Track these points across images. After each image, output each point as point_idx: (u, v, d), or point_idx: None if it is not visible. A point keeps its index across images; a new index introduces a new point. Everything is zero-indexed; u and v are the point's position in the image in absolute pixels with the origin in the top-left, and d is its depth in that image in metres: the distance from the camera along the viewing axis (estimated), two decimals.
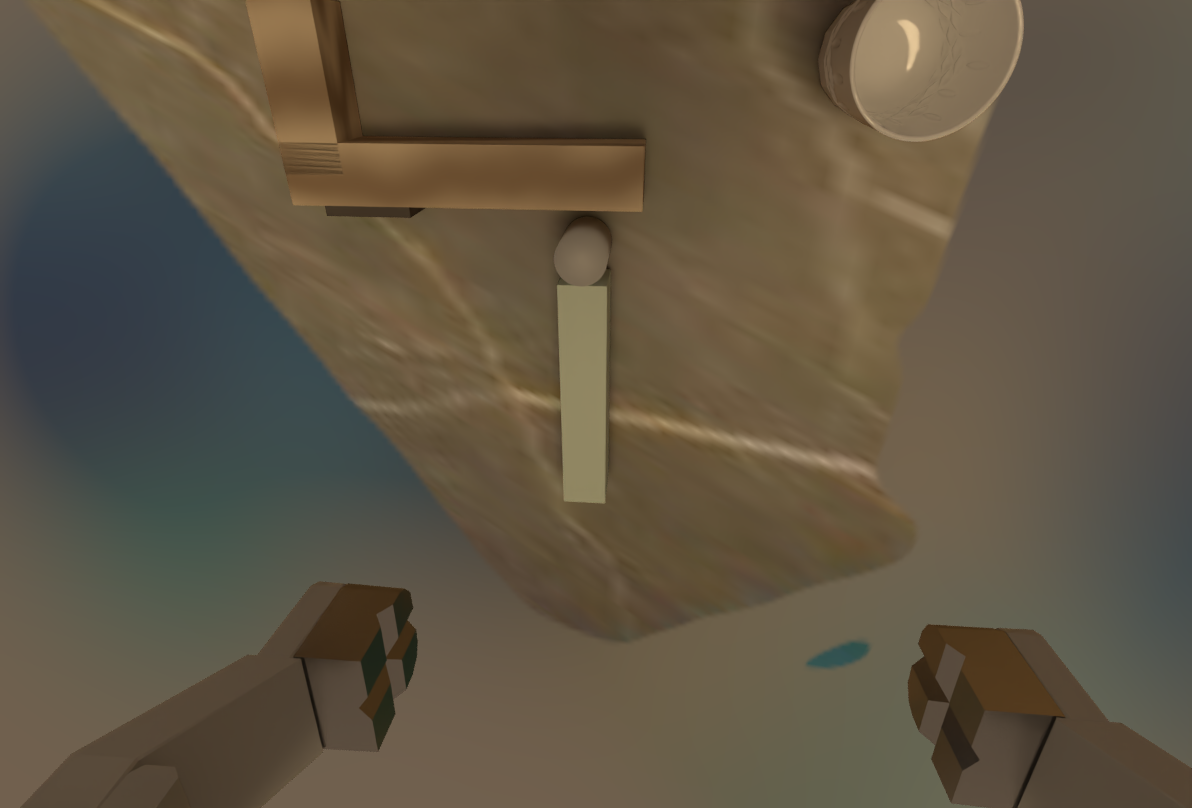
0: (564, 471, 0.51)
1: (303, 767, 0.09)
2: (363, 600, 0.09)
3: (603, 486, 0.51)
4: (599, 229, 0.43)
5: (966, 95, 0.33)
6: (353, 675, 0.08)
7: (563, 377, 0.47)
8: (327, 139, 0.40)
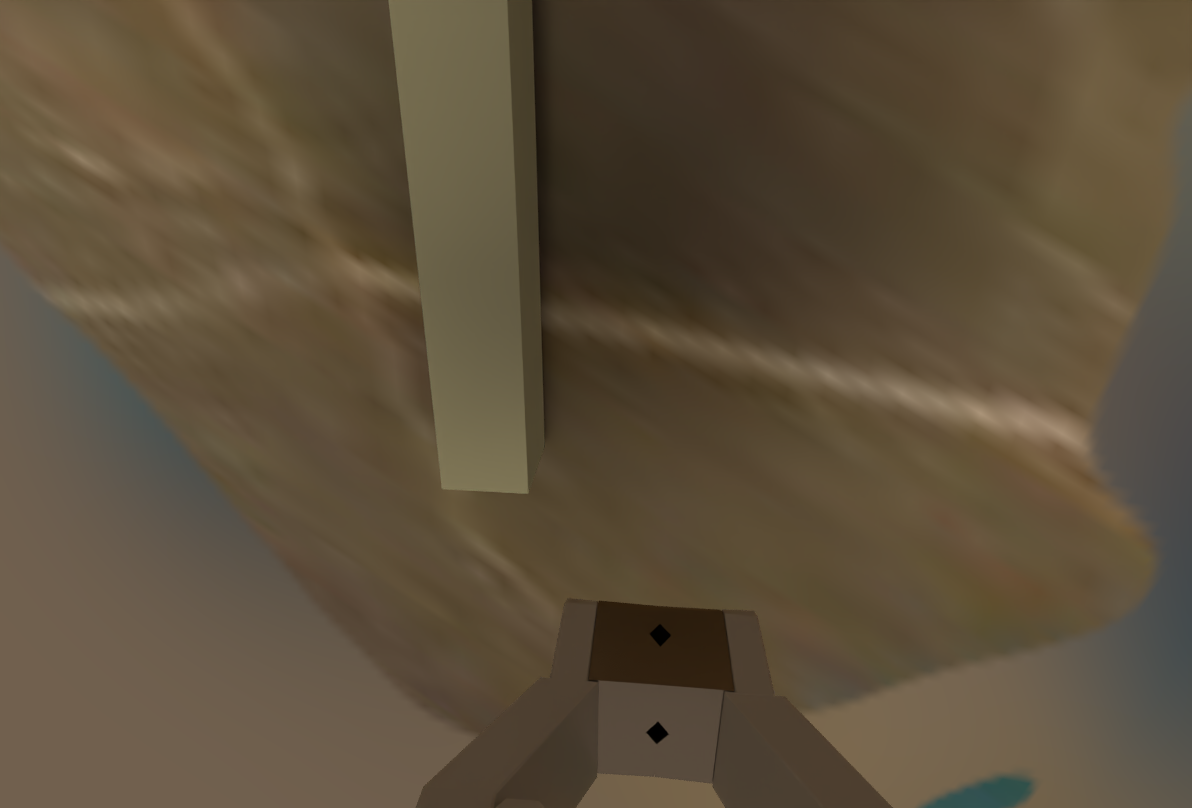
0: (437, 419, 0.23)
1: (583, 793, 0.08)
2: (627, 618, 0.09)
3: (523, 454, 0.24)
4: None
5: None
6: (649, 699, 0.08)
7: (415, 176, 0.20)
8: None
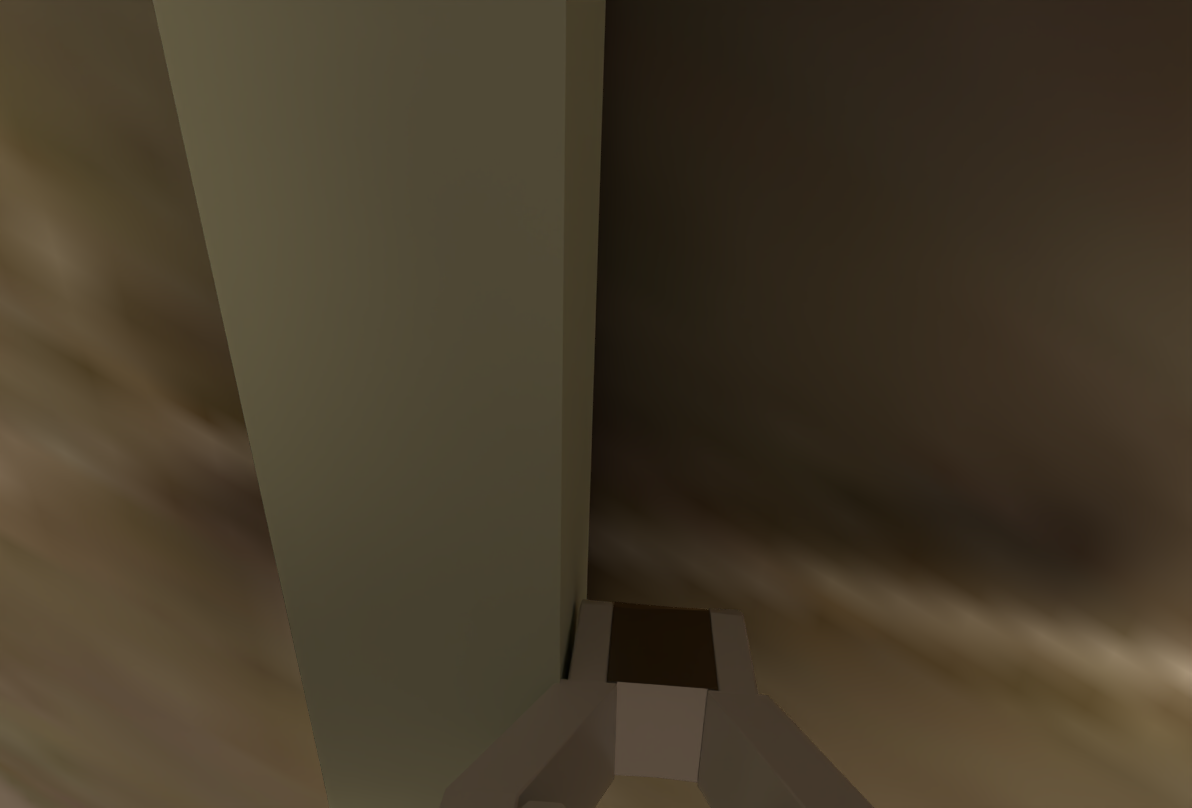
0: None
1: (601, 795, 0.08)
2: (644, 620, 0.09)
3: None
4: None
5: None
6: (667, 700, 0.08)
7: (246, 314, 0.06)
8: None
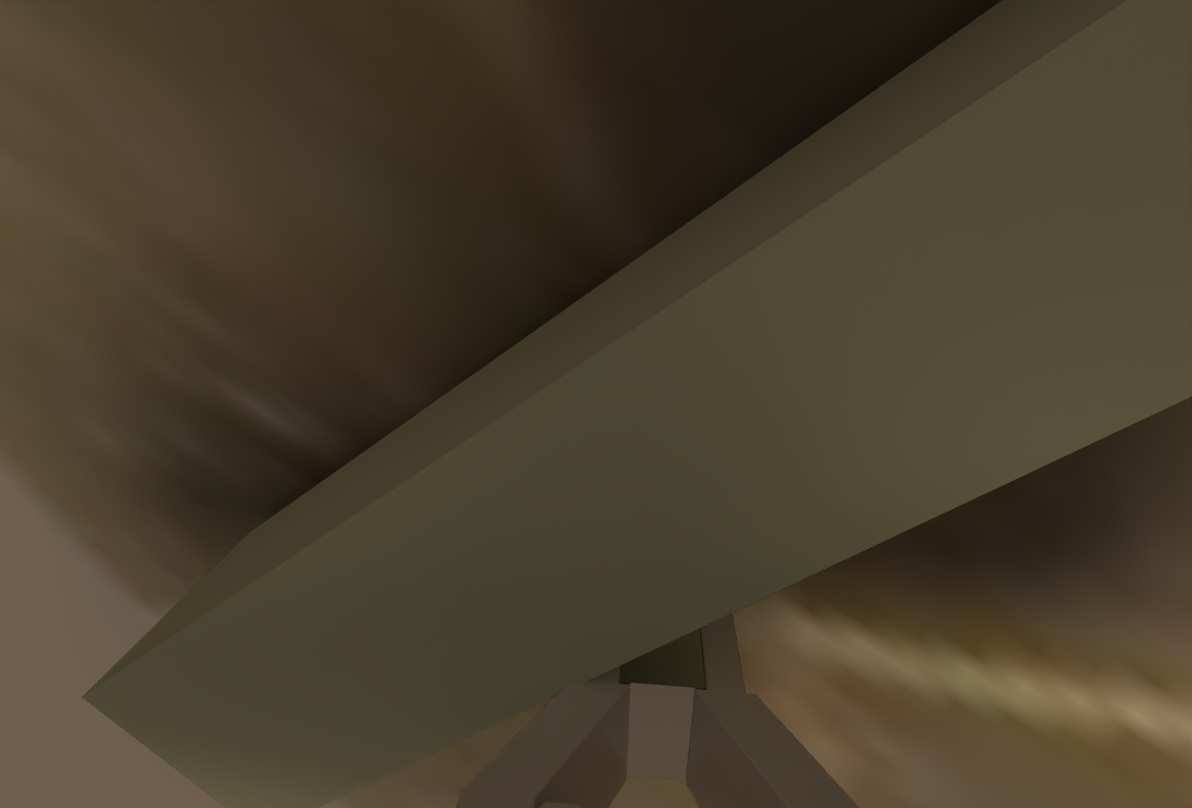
0: (220, 615, 0.08)
1: (612, 795, 0.08)
2: None
3: (328, 794, 0.09)
4: None
5: None
6: (680, 701, 0.08)
7: (847, 222, 0.05)
8: None
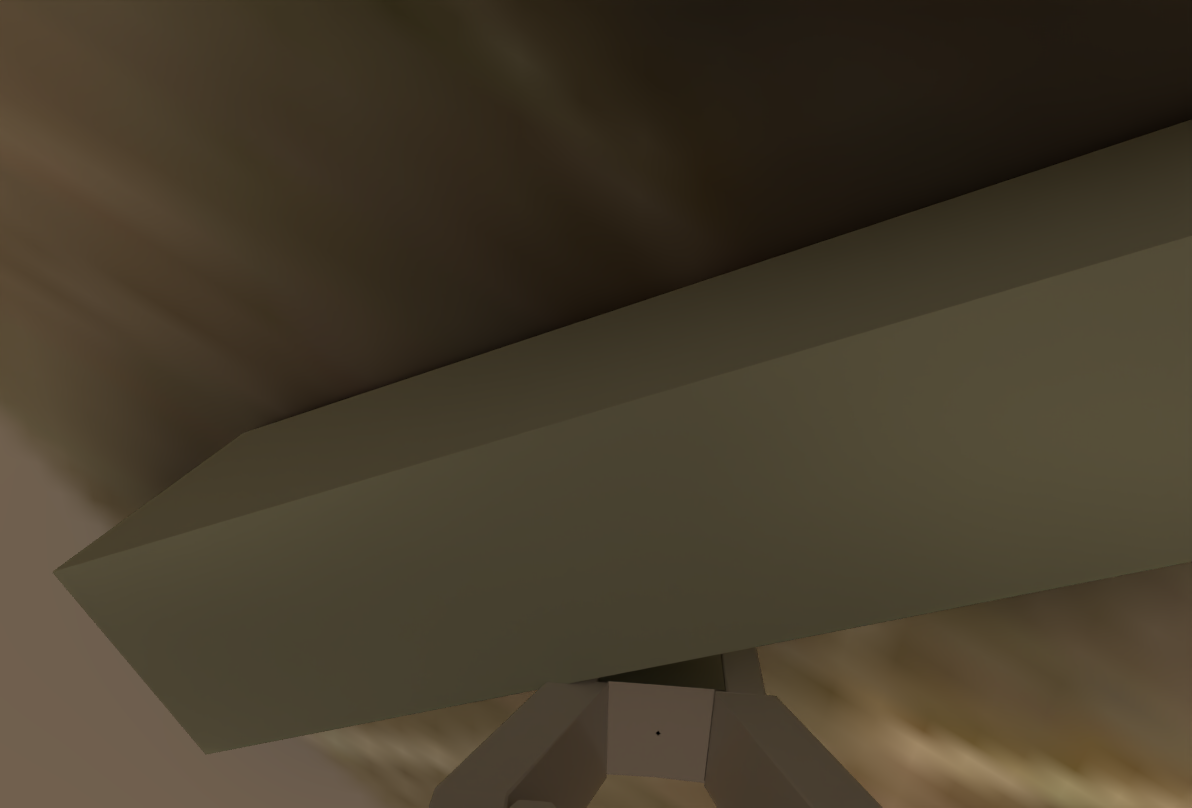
0: (252, 522, 0.07)
1: (592, 794, 0.08)
2: None
3: (299, 728, 0.09)
4: None
5: None
6: (659, 699, 0.08)
7: (1057, 303, 0.05)
8: None
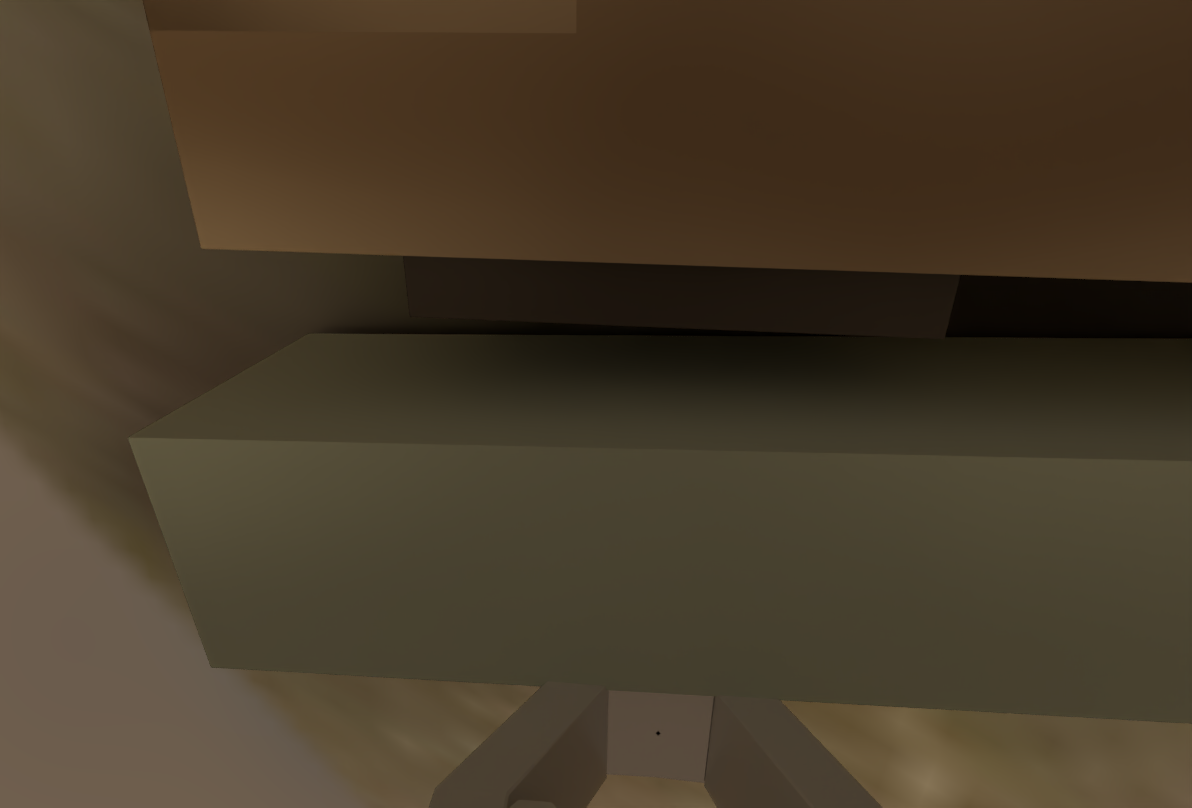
0: (391, 453, 0.07)
1: (593, 793, 0.08)
2: None
3: (332, 666, 0.08)
4: None
5: None
6: (659, 699, 0.08)
7: None
8: None
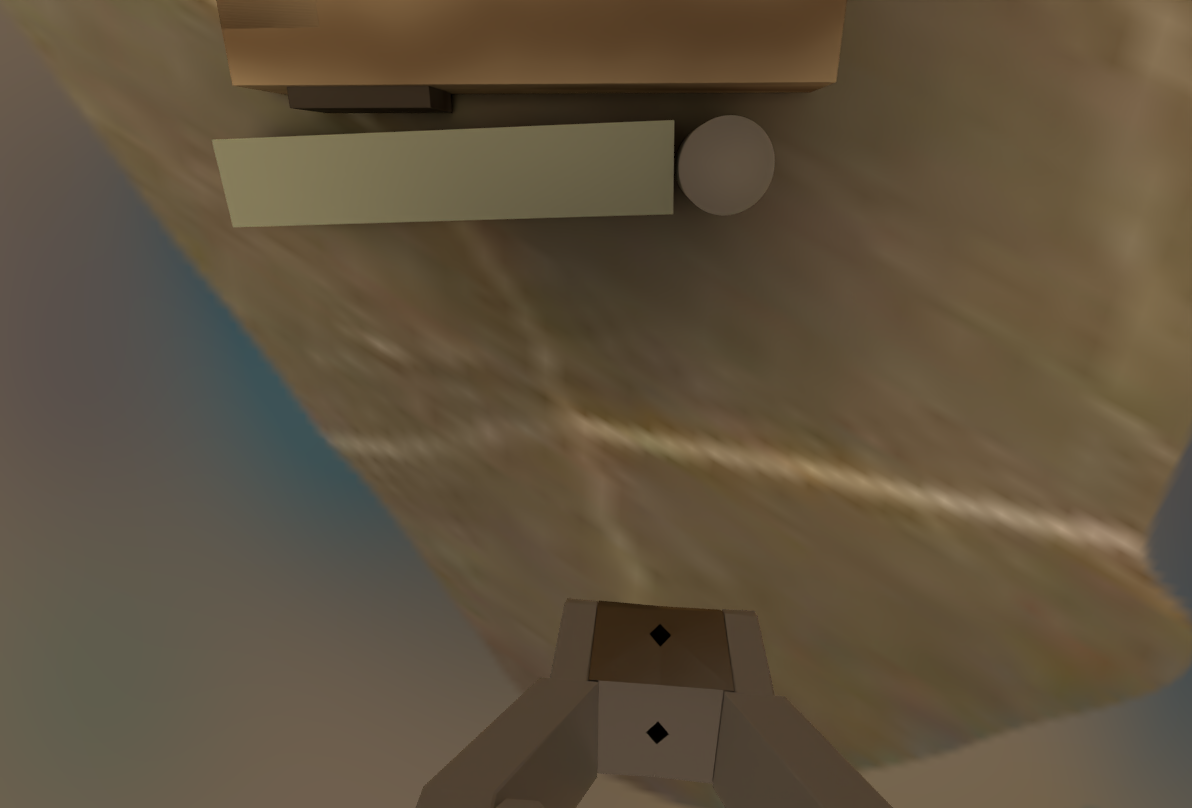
0: (283, 140, 0.25)
1: (583, 793, 0.08)
2: (627, 618, 0.09)
3: (270, 222, 0.27)
4: None
5: None
6: (649, 698, 0.08)
7: (491, 135, 0.25)
8: None
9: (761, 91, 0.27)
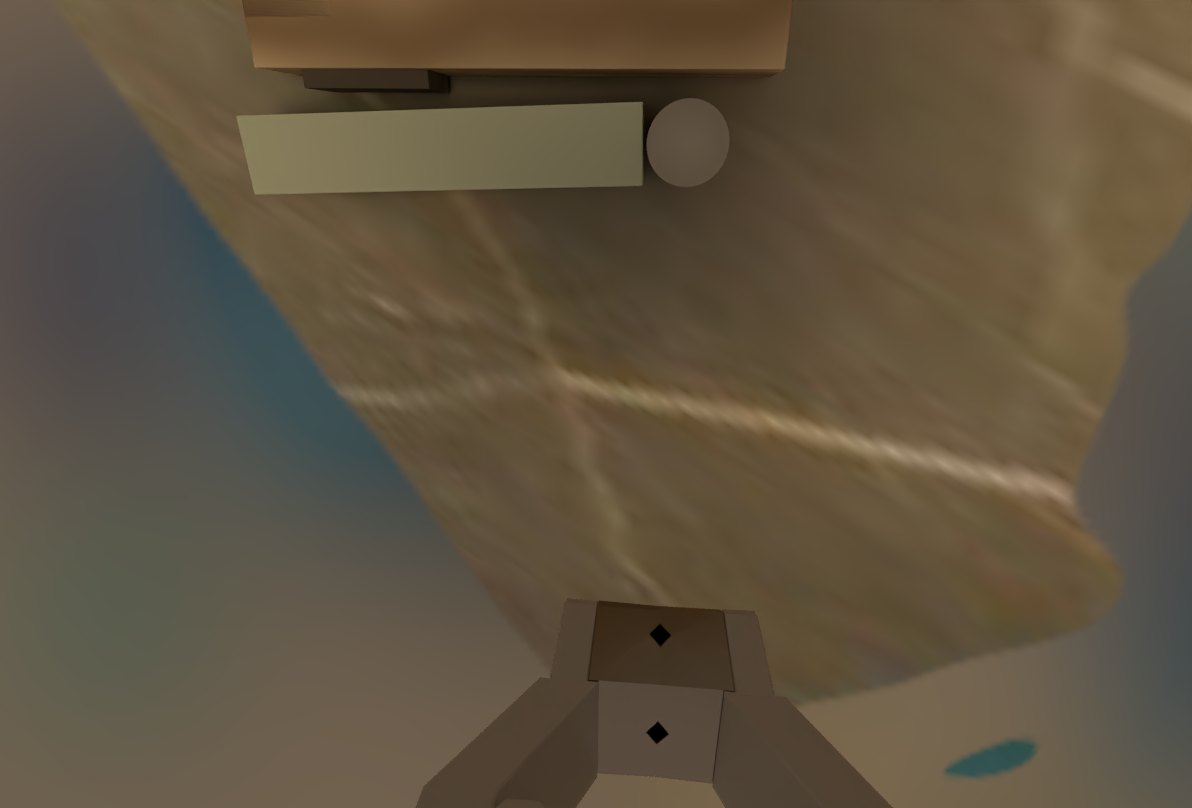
0: (299, 116, 0.29)
1: (582, 793, 0.08)
2: (627, 618, 0.09)
3: (288, 190, 0.30)
4: None
5: None
6: (649, 699, 0.08)
7: (482, 113, 0.28)
8: None
9: (724, 76, 0.30)
